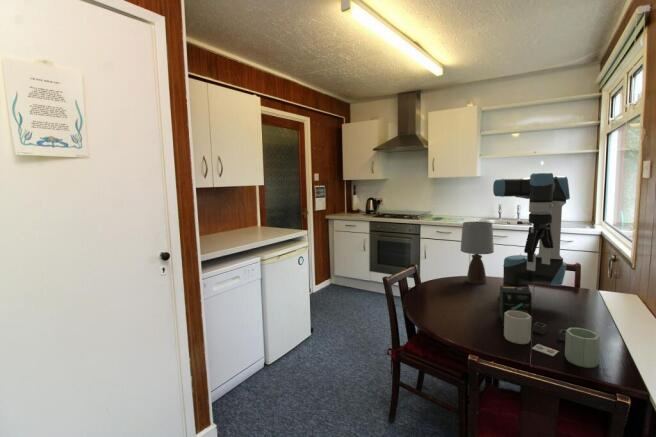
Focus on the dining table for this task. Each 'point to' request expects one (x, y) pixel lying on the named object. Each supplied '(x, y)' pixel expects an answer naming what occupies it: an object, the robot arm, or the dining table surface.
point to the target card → (545, 350)
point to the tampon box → (514, 300)
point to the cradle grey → (540, 328)
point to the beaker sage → (582, 347)
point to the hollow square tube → (562, 334)
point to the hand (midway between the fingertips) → (538, 267)
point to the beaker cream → (517, 327)
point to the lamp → (477, 248)
